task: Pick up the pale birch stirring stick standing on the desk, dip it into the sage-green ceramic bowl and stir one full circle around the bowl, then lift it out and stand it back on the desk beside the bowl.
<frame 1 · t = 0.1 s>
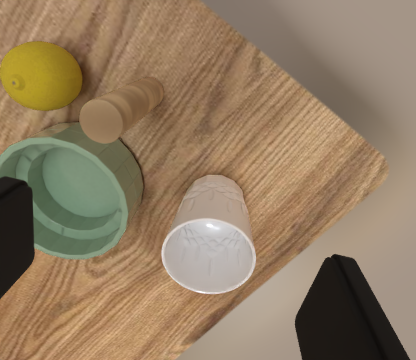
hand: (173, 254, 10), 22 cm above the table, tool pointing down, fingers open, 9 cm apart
stick: (149, 92, 29), on the table
bowl: (87, 178, 34), on the table
white cup: (215, 199, 34), on the table
lemon: (69, 72, 29), on the table
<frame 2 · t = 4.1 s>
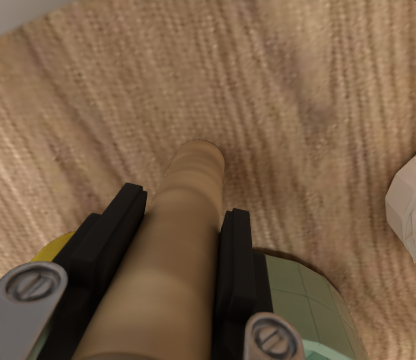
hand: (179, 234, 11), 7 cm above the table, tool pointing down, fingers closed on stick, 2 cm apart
stick: (199, 164, 17), on the table, touching gripper
bowl: (249, 323, 21), on the table
lemon: (109, 240, 19), on the table
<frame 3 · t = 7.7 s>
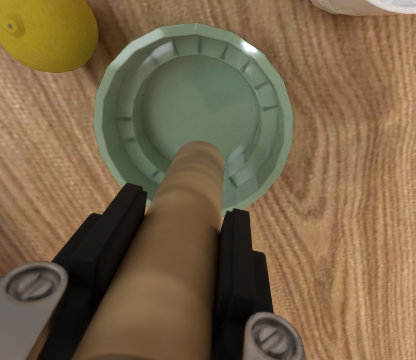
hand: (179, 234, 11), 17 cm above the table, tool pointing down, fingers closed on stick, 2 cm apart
stick: (199, 164, 16), point 10 cm above the table, touching gripper
bowl: (200, 114, 25), on the table
lemon: (80, 29, 23), on the table
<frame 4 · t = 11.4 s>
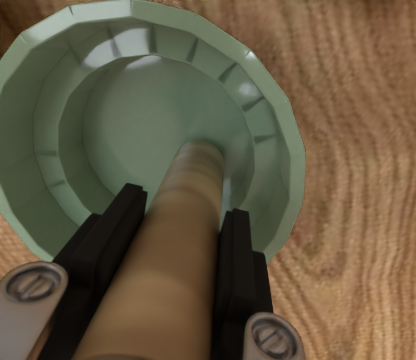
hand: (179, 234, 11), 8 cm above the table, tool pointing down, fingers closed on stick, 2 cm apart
stick: (199, 164, 17), point 2 cm above the table, touching gripper
bowl: (168, 141, 18), on the table
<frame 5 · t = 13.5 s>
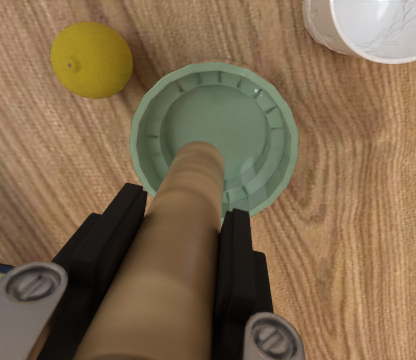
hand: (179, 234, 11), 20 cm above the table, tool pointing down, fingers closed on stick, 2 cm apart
stick: (199, 165, 17), point 13 cm above the table, touching gripper
bowl: (216, 132, 29), on the table
white cup: (343, 3, 24), on the table
lemon: (114, 59, 27), on the table
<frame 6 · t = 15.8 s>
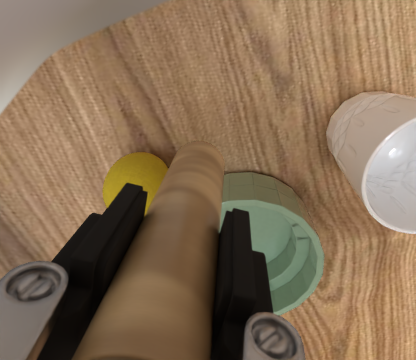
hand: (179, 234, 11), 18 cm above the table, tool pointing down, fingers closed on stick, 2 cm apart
stick: (199, 165, 16), point 11 cm above the table, touching gripper
bowl: (243, 227, 32), on the table
white cup: (364, 129, 26), on the table
lemon: (151, 167, 30), on the table
when the fingers open (7 cm above the table, at t = 19.1 s): stick stays where it is, on the table.
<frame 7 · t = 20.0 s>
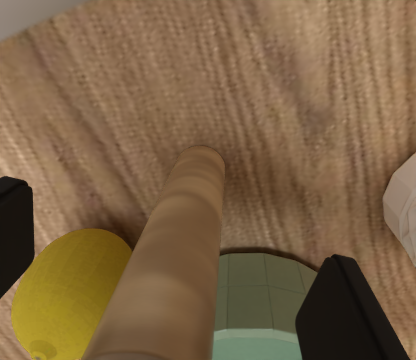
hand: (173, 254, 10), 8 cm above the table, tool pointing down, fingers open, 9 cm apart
stick: (200, 169, 17), on the table
bowl: (249, 321, 22), on the table
lemon: (111, 239, 20), on the table
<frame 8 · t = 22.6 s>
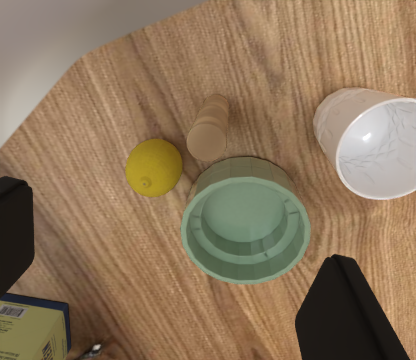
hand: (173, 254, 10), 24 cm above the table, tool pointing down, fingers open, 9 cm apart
stick: (215, 107, 32), on the table
bowl: (242, 206, 36), on the table
white cup: (345, 119, 31), on the table
protein box: (24, 317, 48), on the table
lemon: (163, 153, 34), on the table
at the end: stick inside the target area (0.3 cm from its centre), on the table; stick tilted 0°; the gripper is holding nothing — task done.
